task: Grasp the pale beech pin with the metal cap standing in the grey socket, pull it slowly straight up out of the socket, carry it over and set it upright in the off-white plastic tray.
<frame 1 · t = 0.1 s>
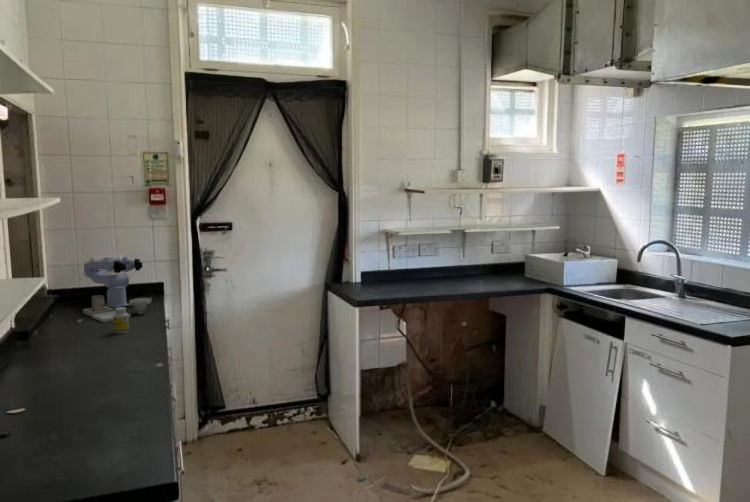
hand: (133, 266, 262), 22 cm above the counter, tool horizontal, fingers open, 7 cm apart
holder: (98, 313, 262), on the counter
tray: (111, 317, 253), on the counter
showerhead: (141, 313, 262), on the counter
peg: (98, 304, 262), in the holder
supplement bottle: (121, 332, 231), on the counter
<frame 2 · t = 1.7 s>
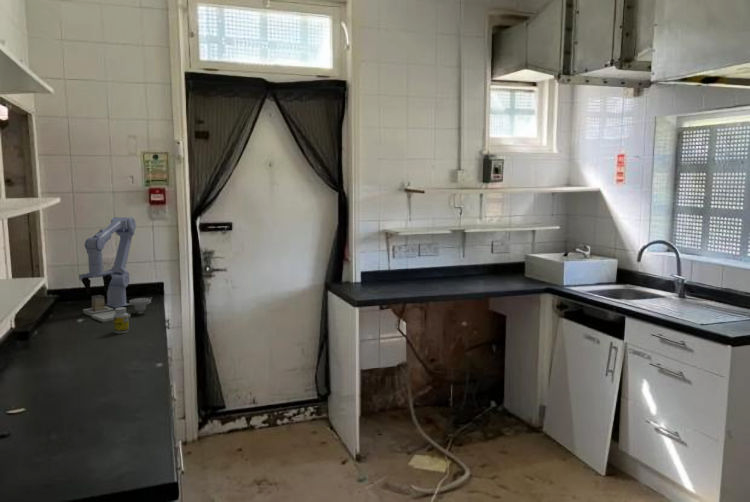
hand: (97, 292, 261), 10 cm above the counter, tool pointing down, fingers open, 7 cm apart
nothing on the counter moved.
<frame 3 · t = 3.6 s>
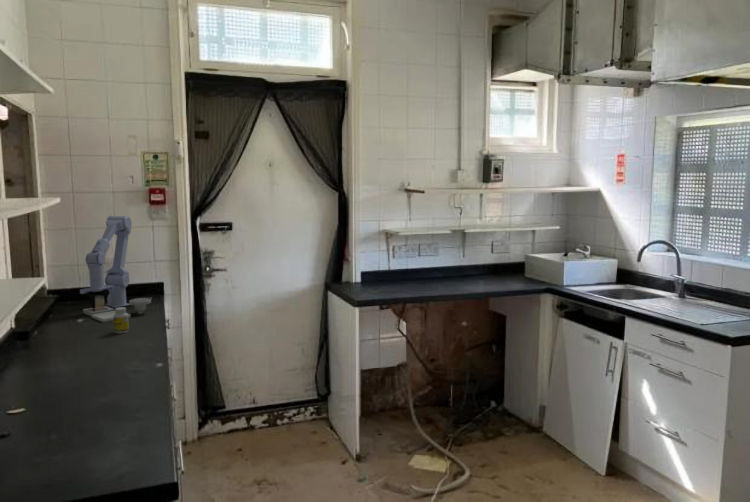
hand: (98, 306, 262), 3 cm above the counter, tool pointing down, fingers closed on peg, 4 cm apart
peg: (98, 304, 262), in the holder, touching gripper
everything else where it was.
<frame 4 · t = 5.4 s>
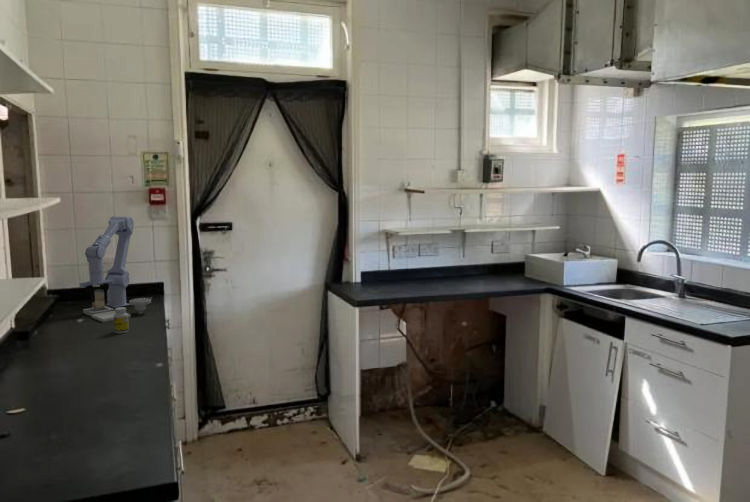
hand: (98, 300, 262), 6 cm above the counter, tool pointing down, fingers closed on peg, 4 cm apart
peg: (98, 298, 262), point 7 cm above the counter, touching gripper
everything else where it was.
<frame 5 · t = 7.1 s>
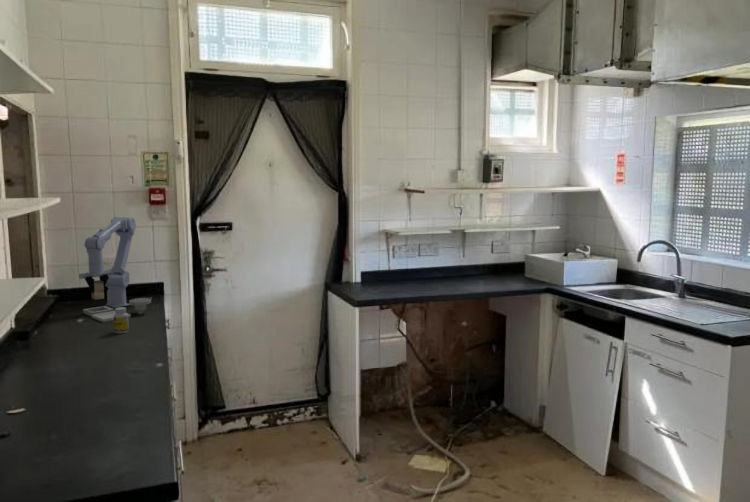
hand: (97, 292, 261), 10 cm above the counter, tool pointing down, fingers closed on peg, 4 cm apart
peg: (97, 289, 261), point 11 cm above the counter, touching gripper
everything else where it was.
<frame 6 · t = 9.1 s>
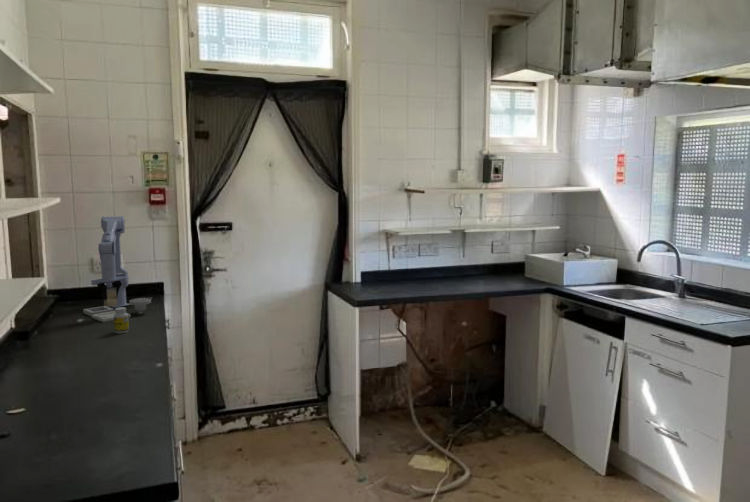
hand: (110, 298, 252), 9 cm above the counter, tool pointing down, fingers closed on peg, 4 cm apart
peg: (110, 296, 252), point 10 cm above the counter, touching gripper
everything else where it was.
when the fingers open (5 cm above the counter, at t = 10.7 s): peg drops 1 cm, resting on tray.
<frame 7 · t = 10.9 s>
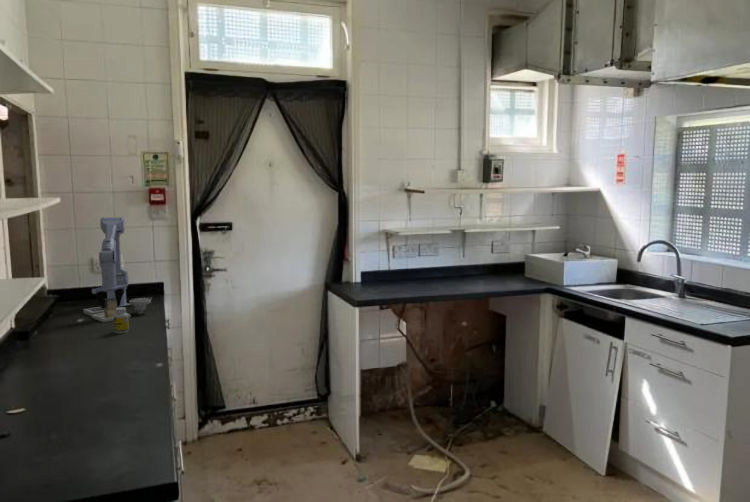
hand: (110, 307, 253), 5 cm above the counter, tool pointing down, fingers open, 6 cm apart
peg: (110, 307, 253), point 5 cm above the counter, touching tray
everything else where it was.
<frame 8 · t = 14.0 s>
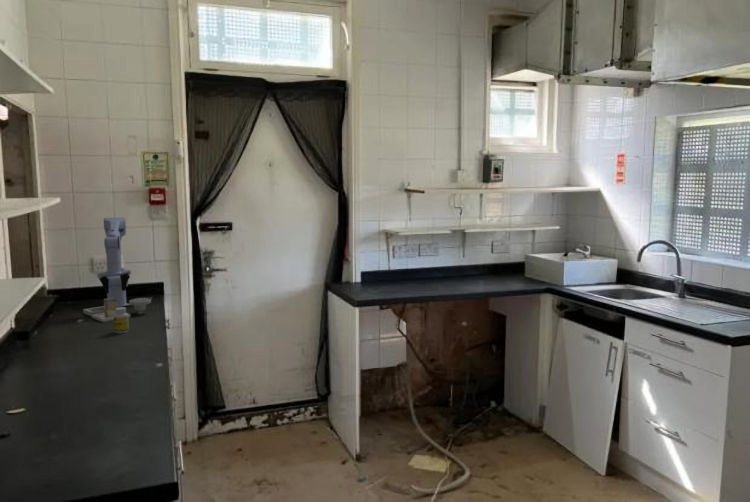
hand: (115, 291, 262), 10 cm above the counter, tool pointing down, fingers open, 7 cm apart
nothing on the counter moved.
at the end: peg inside the target area on the tray (0.0 cm from its centre), point 4.6 cm above the tray's base; peg tilted 0°; the gripper is holding nothing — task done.
